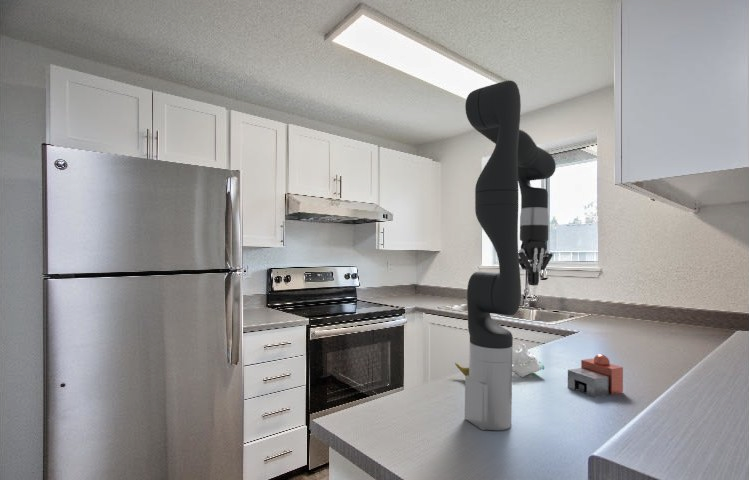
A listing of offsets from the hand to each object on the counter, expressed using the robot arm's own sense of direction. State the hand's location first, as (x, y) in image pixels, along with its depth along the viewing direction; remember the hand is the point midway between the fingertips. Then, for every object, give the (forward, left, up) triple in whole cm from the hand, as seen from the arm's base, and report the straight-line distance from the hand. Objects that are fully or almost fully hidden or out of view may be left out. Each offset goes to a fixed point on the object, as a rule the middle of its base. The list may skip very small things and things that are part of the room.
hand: (533, 285), depth 105 cm
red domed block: (+16, -7, -29) cm, 34 cm away
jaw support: (+8, +11, -29) cm, 32 cm away
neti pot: (-12, +9, -29) cm, 33 cm away
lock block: (+14, -7, -29) cm, 33 cm away
